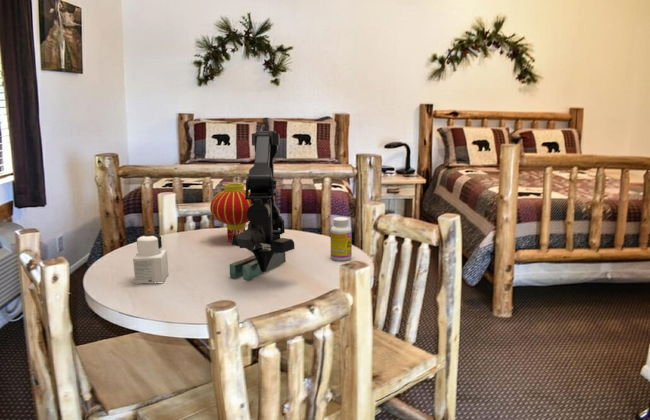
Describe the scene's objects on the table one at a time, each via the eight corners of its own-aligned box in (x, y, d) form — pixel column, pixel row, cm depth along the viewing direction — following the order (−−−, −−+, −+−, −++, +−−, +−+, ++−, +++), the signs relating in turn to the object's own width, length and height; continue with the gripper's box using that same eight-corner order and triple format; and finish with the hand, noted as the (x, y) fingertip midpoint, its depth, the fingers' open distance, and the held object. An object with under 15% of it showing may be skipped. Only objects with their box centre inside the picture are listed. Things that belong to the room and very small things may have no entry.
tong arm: (243, 279, 156) (242, 266, 155) (278, 262, 171) (277, 249, 170) (248, 280, 155) (248, 267, 154) (283, 263, 170) (283, 250, 169)
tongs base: (230, 277, 158) (229, 262, 157) (277, 259, 176) (277, 245, 175) (239, 280, 156) (239, 265, 155) (287, 261, 173) (287, 247, 173)
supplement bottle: (349, 261, 172) (349, 221, 169) (328, 260, 173) (328, 220, 171) (353, 255, 178) (353, 216, 176) (332, 254, 180) (332, 215, 177)
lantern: (201, 242, 196) (196, 157, 190) (236, 232, 210) (232, 152, 203) (237, 249, 186) (233, 160, 180) (270, 238, 200) (268, 155, 194)
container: (141, 275, 161) (138, 232, 158) (168, 274, 162) (165, 231, 159) (135, 284, 154) (131, 239, 151) (163, 283, 154) (160, 238, 151)
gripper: (216, 219, 154) (219, 273, 156) (268, 226, 143) (270, 284, 146) (244, 212, 163) (246, 264, 165) (295, 219, 152) (296, 274, 155)
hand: (263, 271), depth 158 cm, fingers closed
